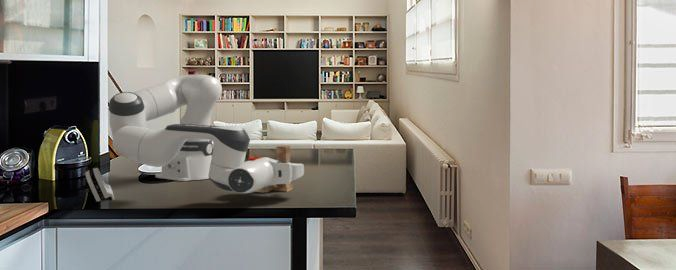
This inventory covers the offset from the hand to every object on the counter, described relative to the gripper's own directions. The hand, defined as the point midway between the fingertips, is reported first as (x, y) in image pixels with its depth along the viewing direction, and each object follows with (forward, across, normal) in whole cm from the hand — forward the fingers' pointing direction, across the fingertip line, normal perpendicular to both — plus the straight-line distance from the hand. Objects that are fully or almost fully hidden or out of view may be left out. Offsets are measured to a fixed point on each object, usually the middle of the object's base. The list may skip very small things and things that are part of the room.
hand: (281, 165), depth 171 cm
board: (+7, -9, -9) cm, 14 cm away
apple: (+24, -22, -9) cm, 33 cm away
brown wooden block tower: (+2, 0, -9) cm, 9 cm away
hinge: (-26, -52, -9) cm, 59 cm away
